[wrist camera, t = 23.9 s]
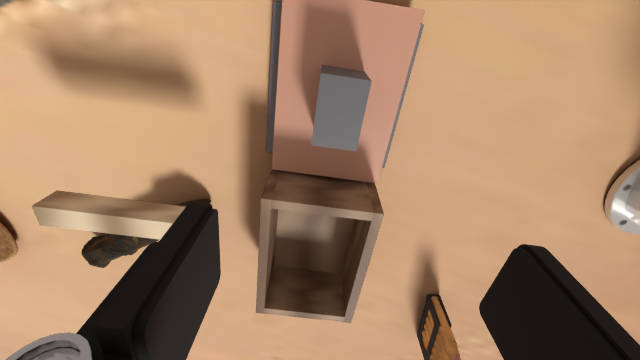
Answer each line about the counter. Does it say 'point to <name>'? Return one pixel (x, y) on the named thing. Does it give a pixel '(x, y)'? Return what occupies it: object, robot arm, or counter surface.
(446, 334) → the ammunition clip
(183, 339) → the robot arm
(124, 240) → the black rough elongated piece
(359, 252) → the toolbox
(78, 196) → the rectangular bar
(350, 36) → the lid
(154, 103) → the counter surface
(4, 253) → the brown boot
